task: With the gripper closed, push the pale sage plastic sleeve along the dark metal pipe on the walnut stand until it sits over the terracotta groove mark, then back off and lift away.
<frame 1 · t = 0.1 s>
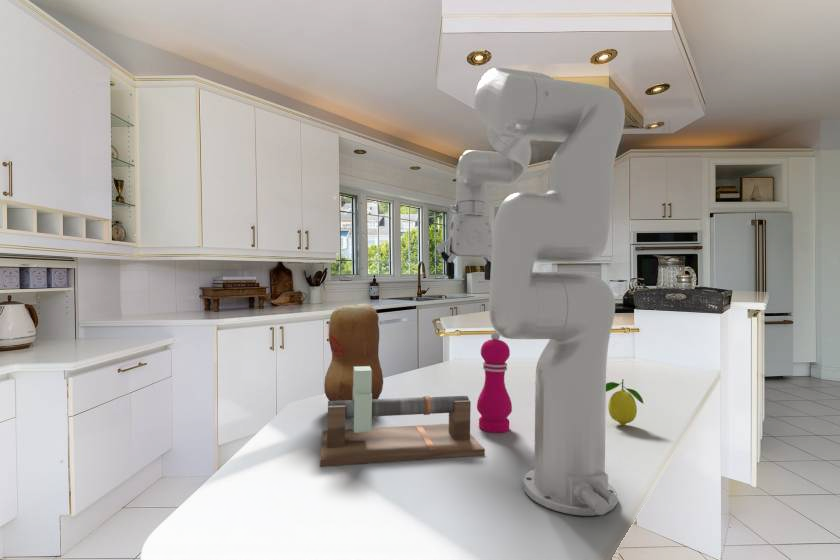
hand: (469, 279, 104), 31 cm above the kitchen island, tool pointing down, fingers open, 9 cm apart
pepper mill: (493, 428, 87), on the kitchen island
pipe stand: (399, 444, 77), on the kitchen island
sleeve: (361, 397, 76), point 9 cm above the kitchen island, slide at 0.0 cm
lemon: (621, 426, 90), on the kitchen island
butternut squash: (354, 412, 97), on the kitchen island
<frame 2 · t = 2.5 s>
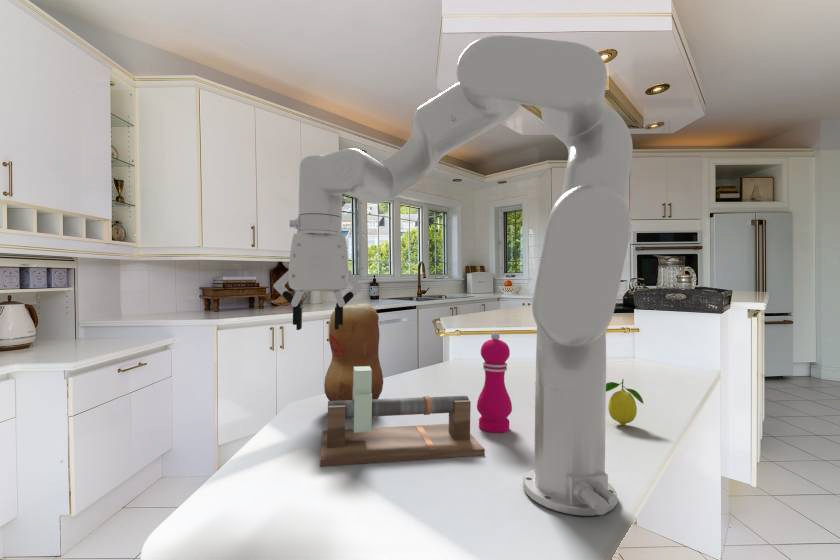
hand: (318, 328, 74), 22 cm above the kitchen island, tool pointing down, fingers open, 5 cm apart
nothing on the kitchen island moved.
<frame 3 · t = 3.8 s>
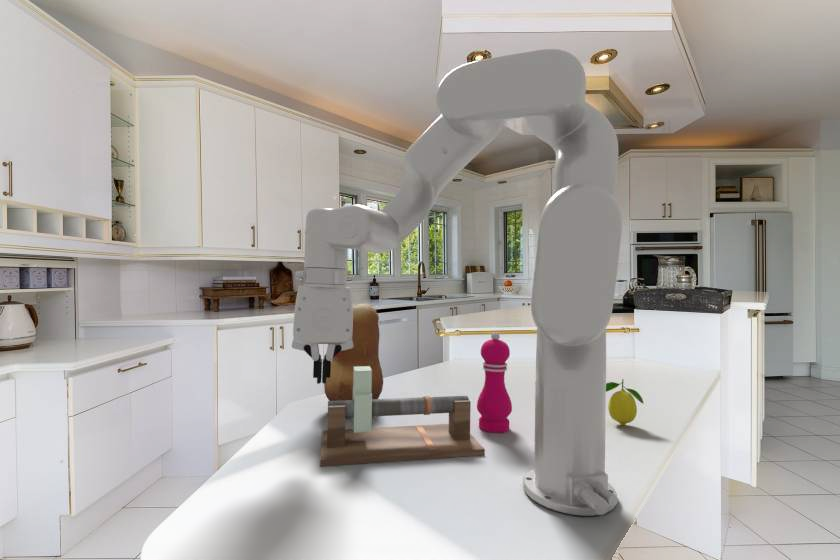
hand: (321, 381, 75), 12 cm above the kitchen island, tool pointing down, fingers closed
nothing on the kitchen island moved.
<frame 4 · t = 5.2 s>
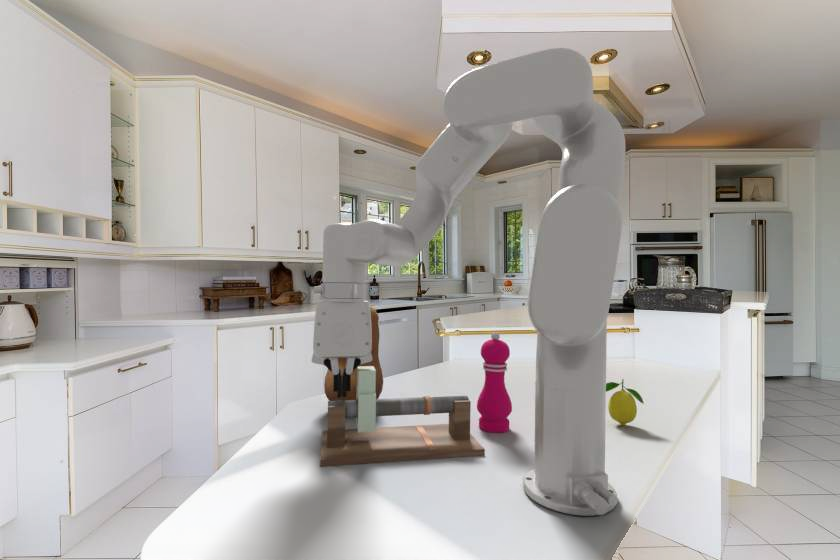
hand: (341, 395, 75), 10 cm above the kitchen island, tool pointing down, fingers closed
sleeve: (365, 397, 76), point 9 cm above the kitchen island, slide at 0.7 cm, touching gripper
everything else where it was.
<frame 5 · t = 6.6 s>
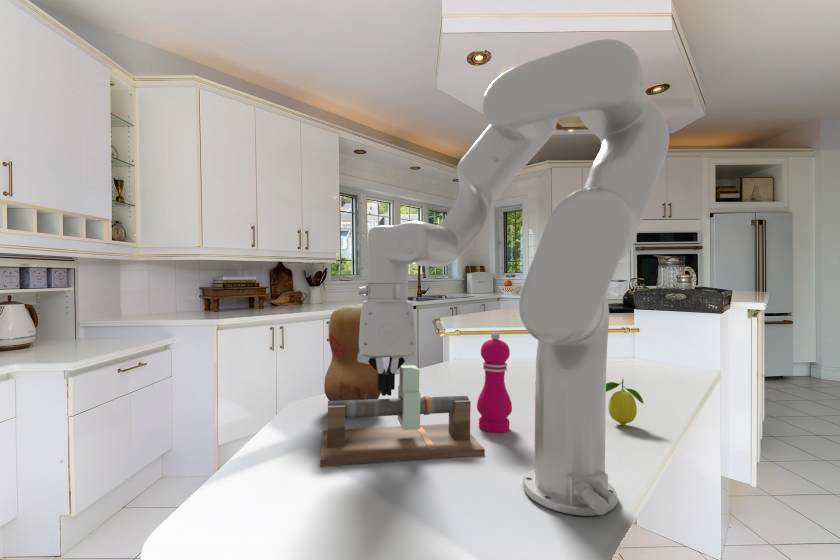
hand: (385, 393, 77), 10 cm above the kitchen island, tool pointing down, fingers closed
sleeve: (408, 395, 78), point 9 cm above the kitchen island, slide at 8.7 cm, touching gripper
everything else where it was.
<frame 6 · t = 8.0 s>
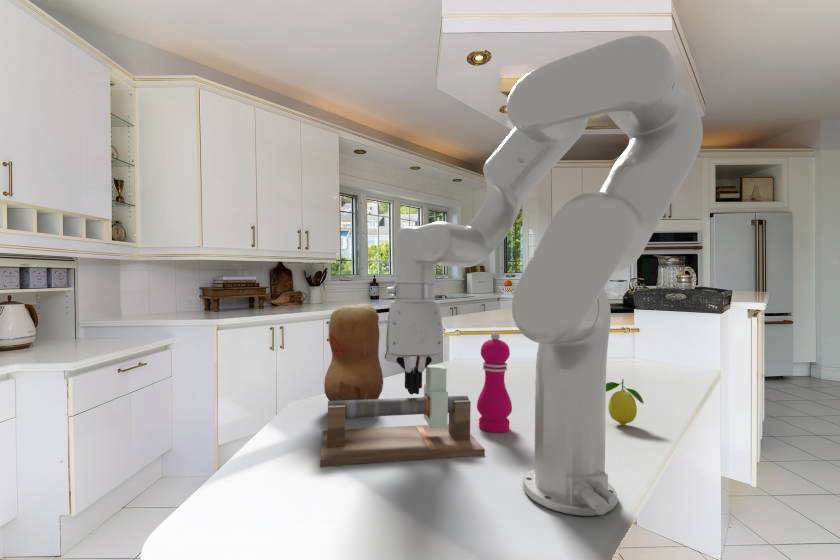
hand: (413, 392, 78), 10 cm above the kitchen island, tool pointing down, fingers closed
sleeve: (435, 394, 79), point 9 cm above the kitchen island, slide at 13.8 cm, touching gripper
everything else where it was.
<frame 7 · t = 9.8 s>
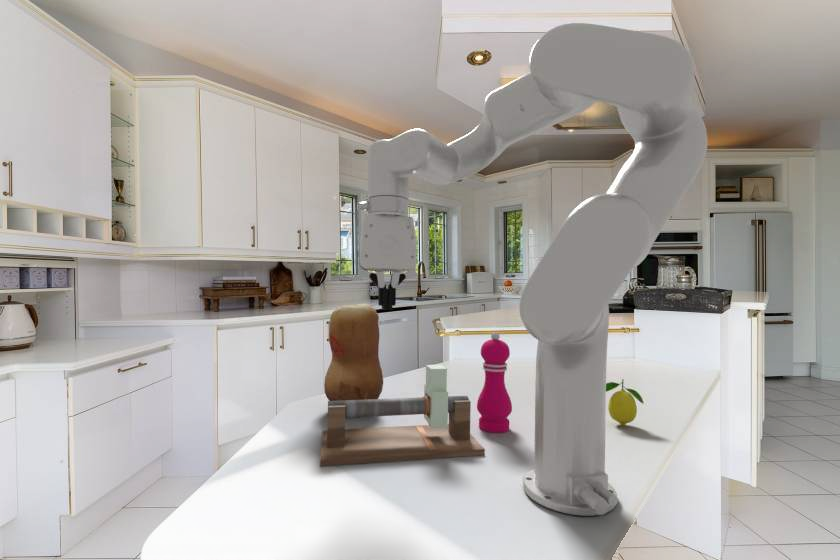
hand: (386, 309, 77), 25 cm above the kitchen island, tool pointing down, fingers closed
sleeve: (435, 394, 79), point 9 cm above the kitchen island, slide at 13.8 cm
everything else where it was.
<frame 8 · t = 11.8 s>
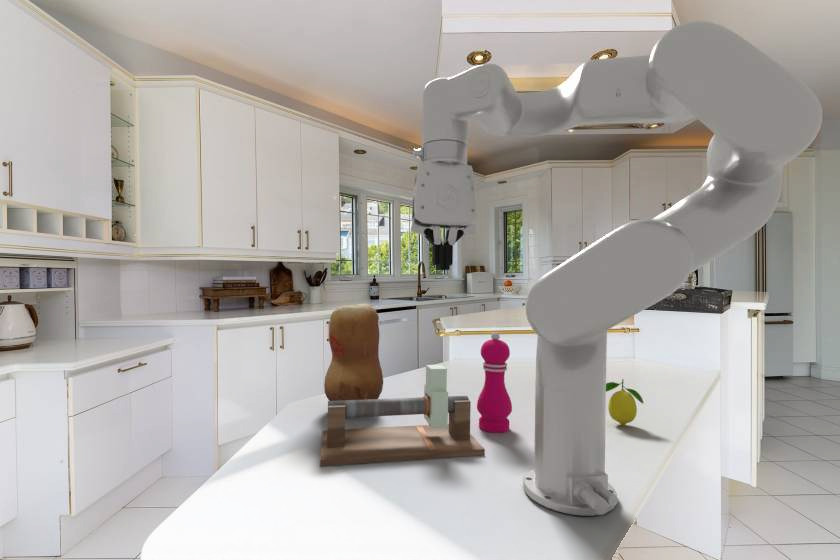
hand: (442, 269, 69), 32 cm above the kitchen island, tool pointing down, fingers closed
nothing on the kitchen island moved.
at the end: sleeve slide at 13.8 cm; pepper mill moved 0.2 cm from its start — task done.
